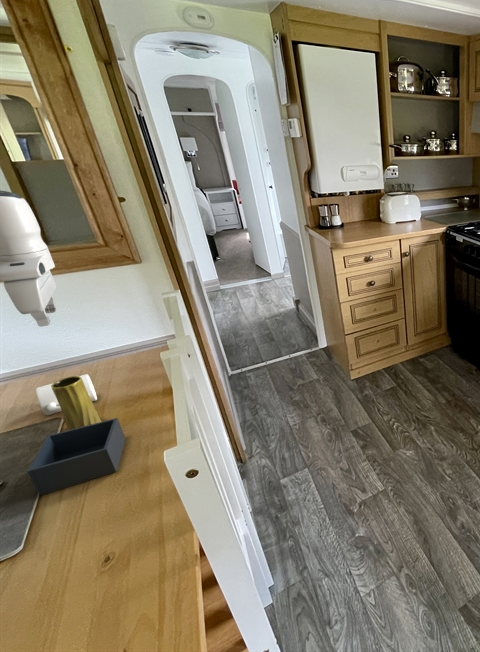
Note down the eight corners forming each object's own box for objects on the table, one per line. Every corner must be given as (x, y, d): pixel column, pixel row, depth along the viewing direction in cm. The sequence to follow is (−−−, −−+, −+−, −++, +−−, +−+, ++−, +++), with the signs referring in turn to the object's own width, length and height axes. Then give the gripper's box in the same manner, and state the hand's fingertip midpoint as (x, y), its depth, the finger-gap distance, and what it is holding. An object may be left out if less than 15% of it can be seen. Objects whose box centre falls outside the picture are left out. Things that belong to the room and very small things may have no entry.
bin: (39, 495, 78) (26, 471, 76) (58, 457, 88) (47, 435, 85) (116, 471, 85) (106, 449, 82) (125, 439, 94) (117, 417, 92)
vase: (65, 439, 93) (42, 391, 88) (76, 424, 99) (56, 377, 93) (96, 433, 96) (76, 385, 90) (106, 418, 101) (88, 372, 96)
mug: (47, 407, 105) (36, 383, 102) (96, 392, 111) (86, 369, 108) (47, 428, 97) (34, 403, 94) (99, 411, 103) (89, 387, 101)
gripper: (14, 255, 91) (37, 307, 96) (-9, 276, 77) (20, 337, 82) (51, 252, 95) (71, 302, 100) (36, 271, 81) (61, 329, 86)
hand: (48, 318), depth 91 cm, fingers open, 8 cm apart
